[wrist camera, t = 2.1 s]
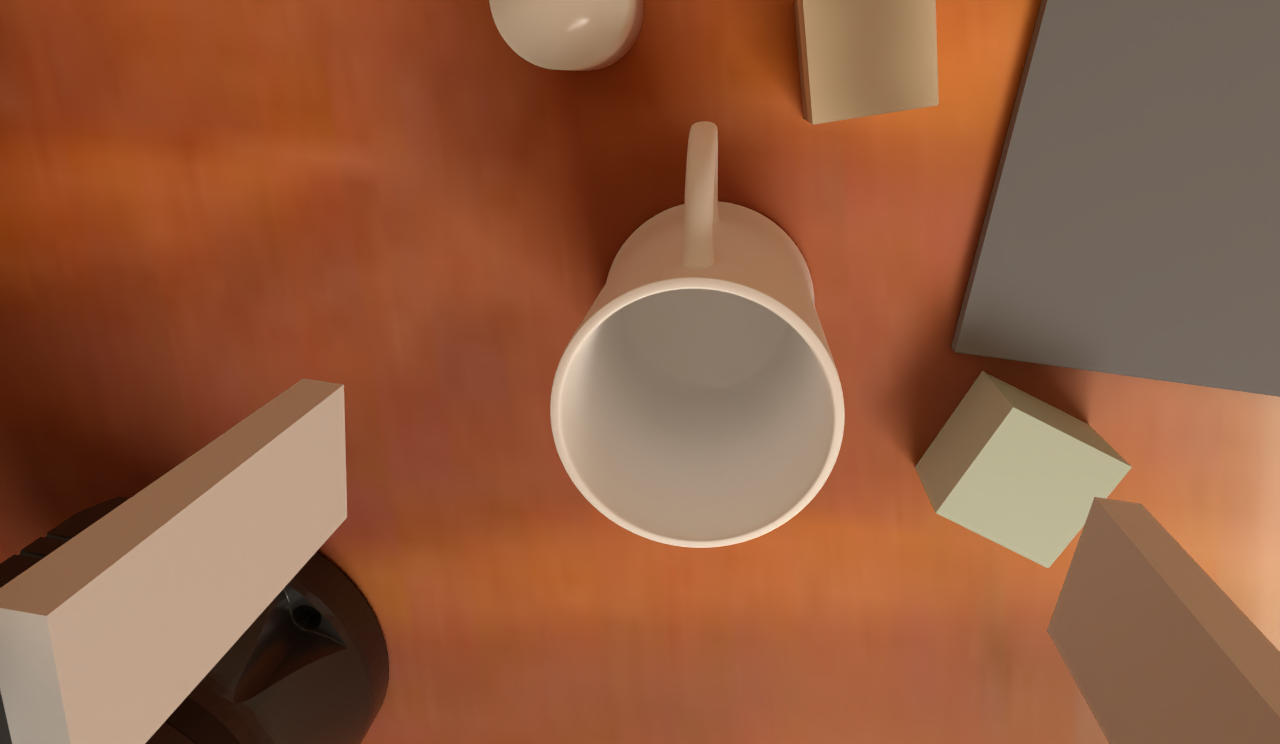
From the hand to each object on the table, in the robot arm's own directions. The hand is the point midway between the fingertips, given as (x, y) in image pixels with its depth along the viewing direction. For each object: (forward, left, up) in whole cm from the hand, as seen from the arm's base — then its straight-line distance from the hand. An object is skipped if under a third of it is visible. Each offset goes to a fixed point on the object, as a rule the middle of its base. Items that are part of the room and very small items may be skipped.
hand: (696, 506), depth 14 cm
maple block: (+4, +8, -20) cm, 22 cm away
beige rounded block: (-6, +9, -20) cm, 22 cm away
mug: (0, 0, -20) cm, 20 cm away
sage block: (+13, -6, -20) cm, 24 cm away
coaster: (+17, +5, -20) cm, 26 cm away
